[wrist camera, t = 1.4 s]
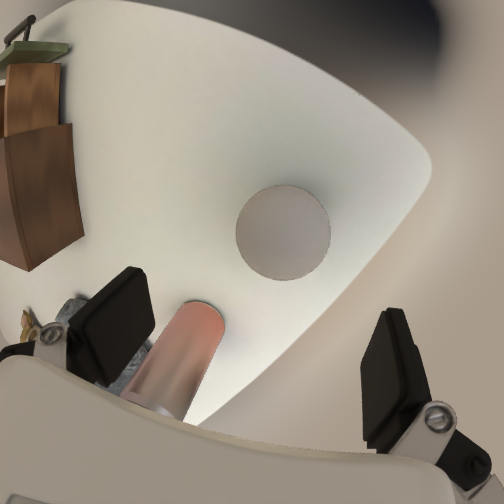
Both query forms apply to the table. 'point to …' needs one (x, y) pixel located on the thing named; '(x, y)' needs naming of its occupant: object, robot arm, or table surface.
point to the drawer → (29, 82)
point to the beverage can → (177, 361)
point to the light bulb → (283, 232)
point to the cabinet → (37, 196)
